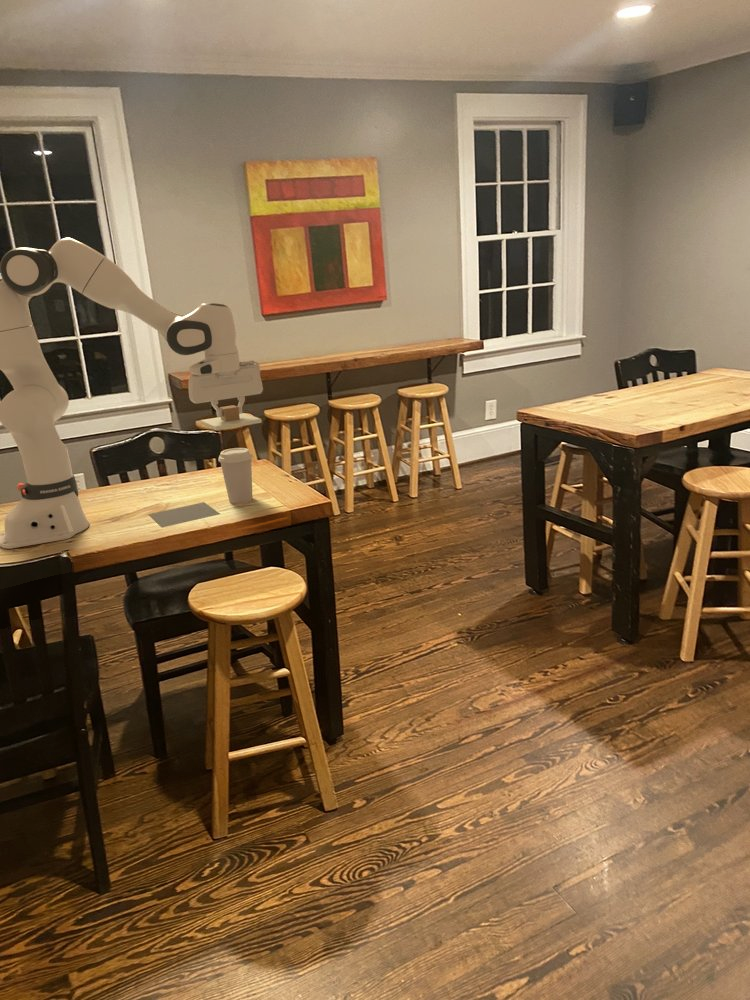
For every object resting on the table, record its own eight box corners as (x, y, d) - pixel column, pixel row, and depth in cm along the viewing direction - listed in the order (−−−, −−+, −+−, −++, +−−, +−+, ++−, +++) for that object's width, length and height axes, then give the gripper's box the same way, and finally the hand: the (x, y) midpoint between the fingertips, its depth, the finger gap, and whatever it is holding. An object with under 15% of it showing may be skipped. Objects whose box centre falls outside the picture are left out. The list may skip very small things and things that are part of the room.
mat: (162, 529, 189) (161, 527, 189) (148, 516, 200) (148, 514, 200) (220, 515, 196) (220, 513, 196) (204, 504, 208) (204, 502, 208)
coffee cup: (218, 507, 204) (211, 455, 199) (232, 496, 213) (226, 447, 208) (250, 507, 202) (243, 455, 197) (263, 497, 210) (257, 447, 206)
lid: (216, 430, 192) (213, 413, 190) (200, 423, 203) (198, 407, 201) (261, 422, 198) (259, 406, 197) (244, 416, 209) (242, 401, 207)
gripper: (254, 358, 203) (260, 407, 207) (183, 368, 193) (190, 419, 197) (263, 360, 198) (269, 410, 202) (190, 369, 188) (197, 422, 192)
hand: (229, 414), depth 200 cm, fingers closed on lid, 4 cm apart
